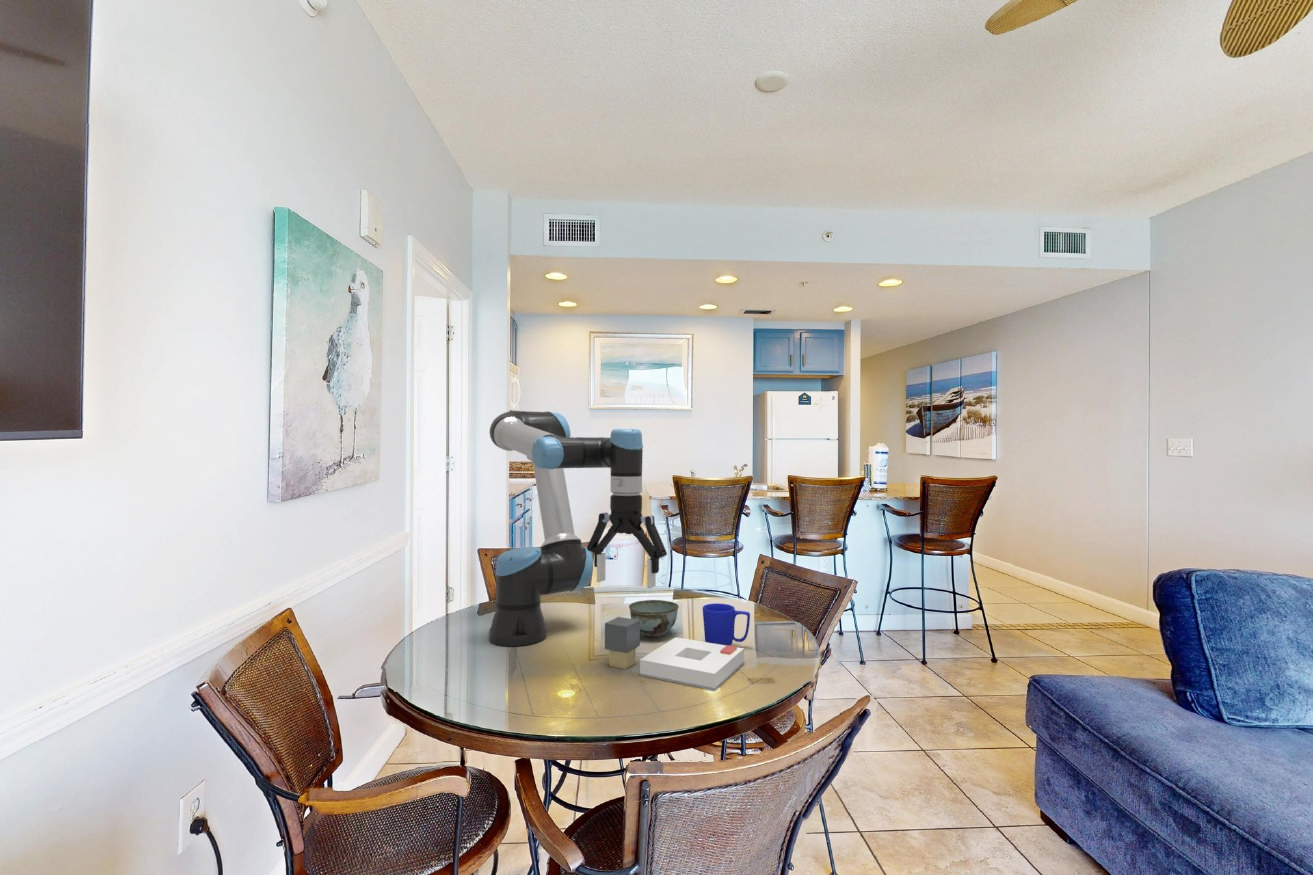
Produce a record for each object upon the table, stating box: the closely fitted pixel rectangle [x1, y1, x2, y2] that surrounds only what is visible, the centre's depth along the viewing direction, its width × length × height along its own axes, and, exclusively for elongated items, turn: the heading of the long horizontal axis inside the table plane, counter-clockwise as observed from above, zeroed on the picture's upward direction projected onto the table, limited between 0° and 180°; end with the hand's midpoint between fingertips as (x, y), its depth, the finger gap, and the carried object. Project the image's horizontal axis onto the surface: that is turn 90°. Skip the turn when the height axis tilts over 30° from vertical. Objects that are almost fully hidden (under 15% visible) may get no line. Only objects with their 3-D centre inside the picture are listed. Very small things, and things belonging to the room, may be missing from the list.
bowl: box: [628, 599, 680, 639], centre depth 164 cm, size 14×13×8 cm
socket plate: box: [639, 637, 745, 691], centre depth 138 cm, size 18×18×4 cm
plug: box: [604, 616, 641, 670], centre depth 141 cm, size 6×6×10 cm
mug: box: [702, 602, 751, 646], centre depth 154 cm, size 8×12×10 cm
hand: (625, 584), depth 142 cm, fingers open, 13 cm apart
